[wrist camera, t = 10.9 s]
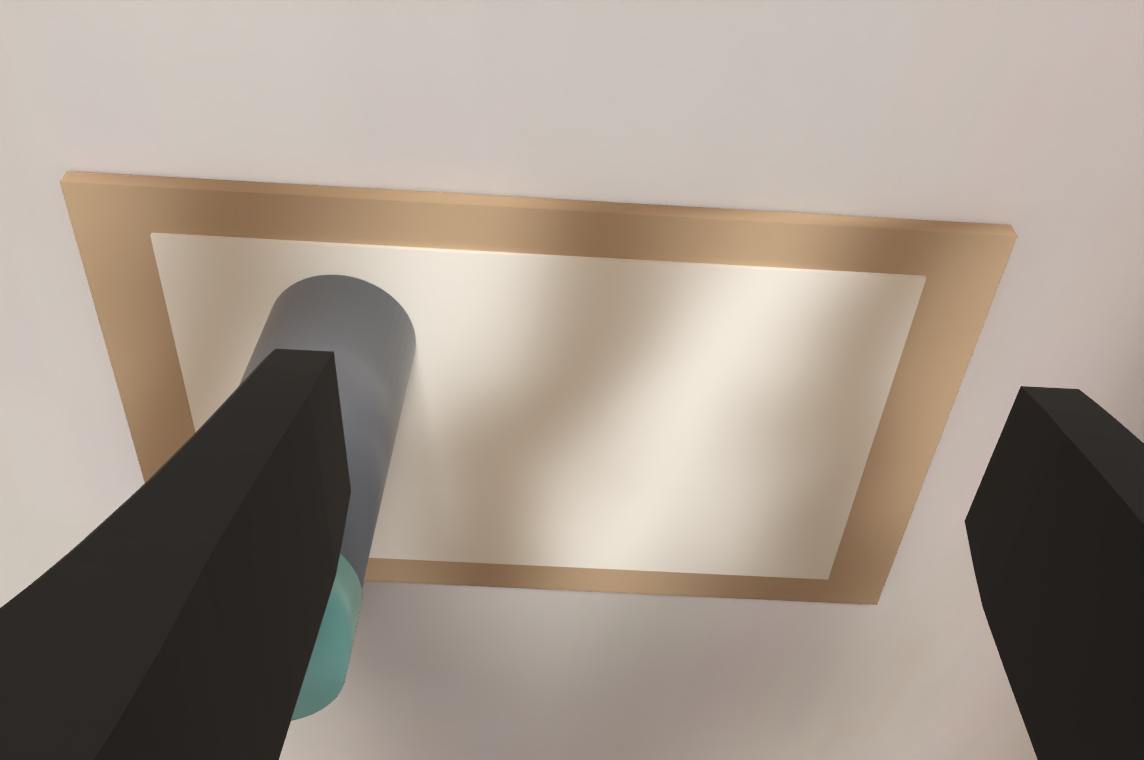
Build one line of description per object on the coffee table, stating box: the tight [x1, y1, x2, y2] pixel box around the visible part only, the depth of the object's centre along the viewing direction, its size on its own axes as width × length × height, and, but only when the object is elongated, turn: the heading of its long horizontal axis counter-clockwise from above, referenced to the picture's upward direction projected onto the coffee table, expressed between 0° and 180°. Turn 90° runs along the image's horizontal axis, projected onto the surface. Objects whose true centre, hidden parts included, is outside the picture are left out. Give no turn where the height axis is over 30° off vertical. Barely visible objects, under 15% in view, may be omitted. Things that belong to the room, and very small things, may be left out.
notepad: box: [60, 171, 1017, 605], centre depth 23 cm, size 18×11×1 cm, turn 87°
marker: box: [238, 275, 416, 721], centre depth 18 cm, size 3×3×8 cm
